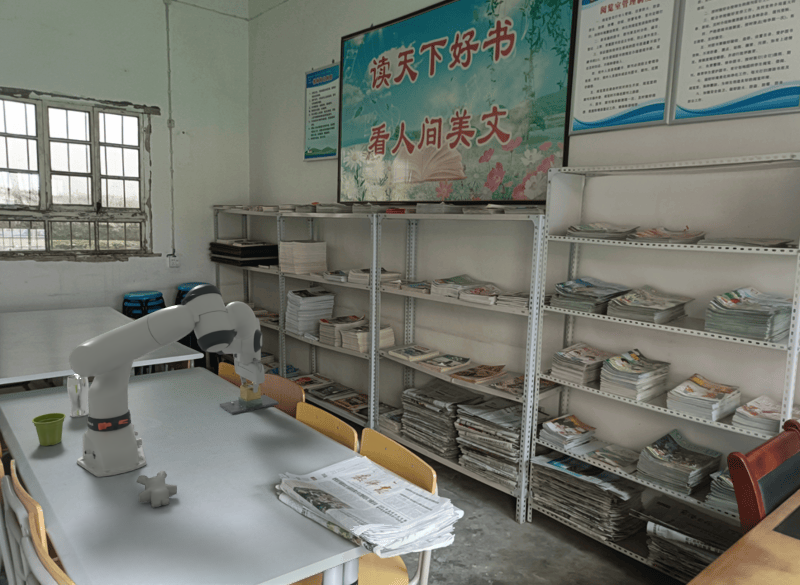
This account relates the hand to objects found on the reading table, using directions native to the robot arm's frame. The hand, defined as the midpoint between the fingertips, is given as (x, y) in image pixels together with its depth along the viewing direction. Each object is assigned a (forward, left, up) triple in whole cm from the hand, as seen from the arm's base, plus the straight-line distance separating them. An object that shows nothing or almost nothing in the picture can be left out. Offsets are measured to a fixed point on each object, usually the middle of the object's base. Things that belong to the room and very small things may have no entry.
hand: (249, 389), depth 225 cm
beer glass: (+29, +56, -7) cm, 63 cm away
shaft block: (0, 0, -7) cm, 7 cm away
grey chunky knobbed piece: (-54, +53, -7) cm, 76 cm away
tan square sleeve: (0, 0, -4) cm, 4 cm away
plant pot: (+5, +69, -7) cm, 69 cm away
